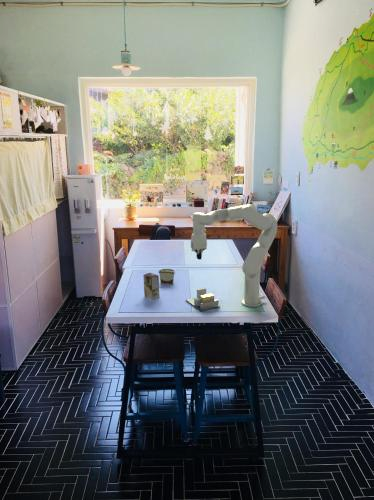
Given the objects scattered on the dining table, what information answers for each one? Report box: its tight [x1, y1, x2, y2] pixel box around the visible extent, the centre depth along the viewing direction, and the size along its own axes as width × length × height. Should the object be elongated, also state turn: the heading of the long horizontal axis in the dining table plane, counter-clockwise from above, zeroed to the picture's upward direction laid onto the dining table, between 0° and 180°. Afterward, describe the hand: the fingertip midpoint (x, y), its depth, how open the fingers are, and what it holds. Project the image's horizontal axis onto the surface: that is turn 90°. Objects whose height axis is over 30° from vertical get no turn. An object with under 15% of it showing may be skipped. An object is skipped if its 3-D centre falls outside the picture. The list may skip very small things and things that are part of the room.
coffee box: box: [142, 272, 160, 301], centre depth 278 cm, size 9×6×16 cm
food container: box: [158, 268, 176, 285], centre depth 306 cm, size 12×6×10 cm, turn 74°
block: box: [200, 292, 215, 303], centre depth 261 cm, size 8×4×7 cm, turn 118°
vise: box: [185, 296, 221, 313], centre depth 267 cm, size 14×20×5 cm
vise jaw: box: [193, 287, 207, 306], centre depth 265 cm, size 12×6×9 cm, turn 118°
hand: (199, 258), depth 272 cm, fingers closed
